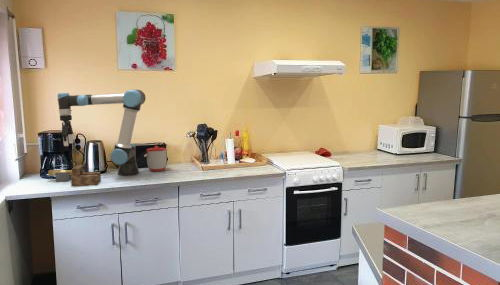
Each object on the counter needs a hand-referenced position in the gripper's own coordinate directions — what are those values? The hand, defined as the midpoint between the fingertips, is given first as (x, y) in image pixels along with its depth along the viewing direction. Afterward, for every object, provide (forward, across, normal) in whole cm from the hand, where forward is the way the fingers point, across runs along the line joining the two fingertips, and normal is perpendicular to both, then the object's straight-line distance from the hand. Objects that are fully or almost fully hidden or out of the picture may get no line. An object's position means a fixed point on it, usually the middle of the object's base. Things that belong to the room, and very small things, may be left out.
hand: (68, 144), depth 264 cm
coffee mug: (+24, +15, +6) cm, 29 cm away
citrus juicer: (+27, +12, -59) cm, 65 cm away
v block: (+24, -7, +4) cm, 26 cm away
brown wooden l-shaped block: (+25, -20, -14) cm, 35 cm away
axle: (+19, -7, +5) cm, 21 cm away
